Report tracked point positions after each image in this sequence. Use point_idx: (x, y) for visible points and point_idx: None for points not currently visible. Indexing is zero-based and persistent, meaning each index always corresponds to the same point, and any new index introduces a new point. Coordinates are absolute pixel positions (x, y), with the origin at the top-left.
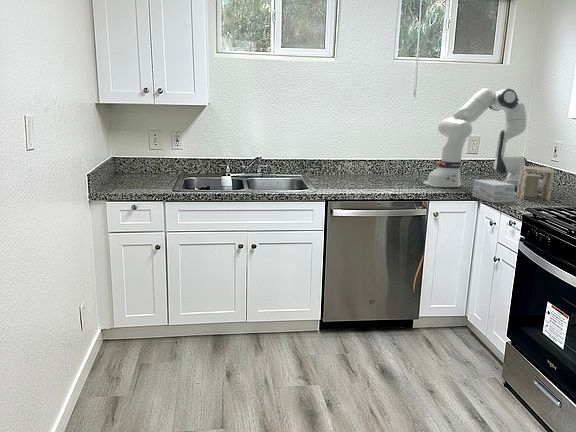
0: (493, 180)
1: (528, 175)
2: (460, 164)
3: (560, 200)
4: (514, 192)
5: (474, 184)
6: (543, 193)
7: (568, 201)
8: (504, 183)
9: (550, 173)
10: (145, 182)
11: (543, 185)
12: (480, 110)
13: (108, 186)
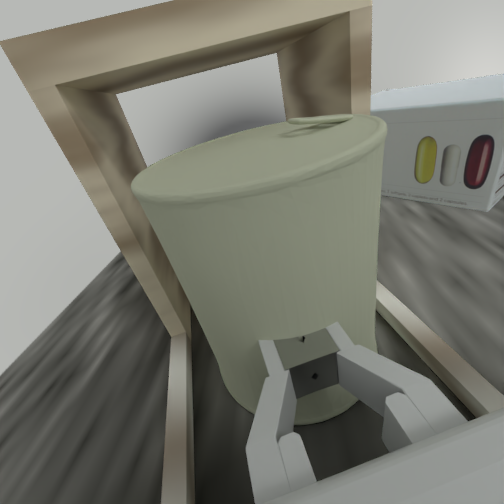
0: (478, 89)
1: (278, 132)
2: None
3: (100, 318)
4: (416, 318)
5: None
6: (178, 291)
7: (66, 318)
8: (374, 100)
9: (112, 104)
10: None
11: (150, 258)
12: None
13: None
